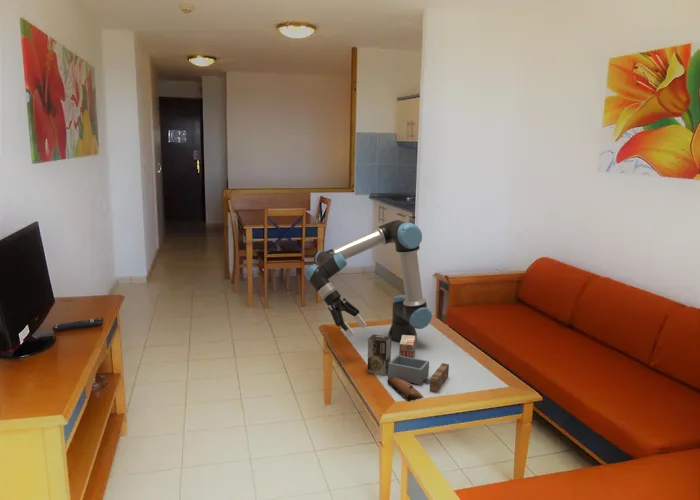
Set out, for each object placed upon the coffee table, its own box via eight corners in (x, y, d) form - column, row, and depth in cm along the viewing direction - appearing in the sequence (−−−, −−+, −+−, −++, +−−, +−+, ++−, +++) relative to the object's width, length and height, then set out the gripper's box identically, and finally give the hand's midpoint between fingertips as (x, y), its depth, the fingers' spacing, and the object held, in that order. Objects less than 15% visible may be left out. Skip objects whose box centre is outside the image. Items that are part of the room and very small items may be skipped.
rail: (394, 372, 244) (394, 371, 244) (437, 381, 236) (437, 380, 236) (390, 376, 240) (390, 375, 240) (434, 385, 232) (434, 385, 231)
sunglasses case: (426, 397, 220) (419, 385, 217) (412, 408, 218) (405, 396, 215) (404, 380, 236) (397, 369, 233) (391, 390, 234) (384, 379, 232)
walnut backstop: (441, 375, 242) (442, 363, 241) (448, 377, 241) (448, 364, 239) (429, 391, 226) (430, 377, 225) (436, 392, 224) (437, 379, 223)
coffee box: (390, 371, 246) (392, 337, 243) (385, 376, 240) (386, 341, 237) (372, 367, 250) (373, 333, 247) (366, 372, 244) (367, 337, 241)
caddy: (396, 369, 247) (397, 355, 246) (428, 375, 241) (429, 361, 239) (387, 377, 237) (388, 363, 236) (420, 384, 231) (421, 369, 230)
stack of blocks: (402, 352, 269) (403, 328, 267) (415, 353, 268) (416, 329, 266) (398, 369, 248) (399, 343, 246) (412, 370, 247) (413, 344, 245)
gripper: (336, 293, 262) (364, 327, 259) (311, 305, 240) (340, 344, 236) (346, 283, 259) (374, 318, 255) (321, 295, 237) (352, 334, 233)
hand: (358, 331), depth 246 cm, fingers open, 13 cm apart
